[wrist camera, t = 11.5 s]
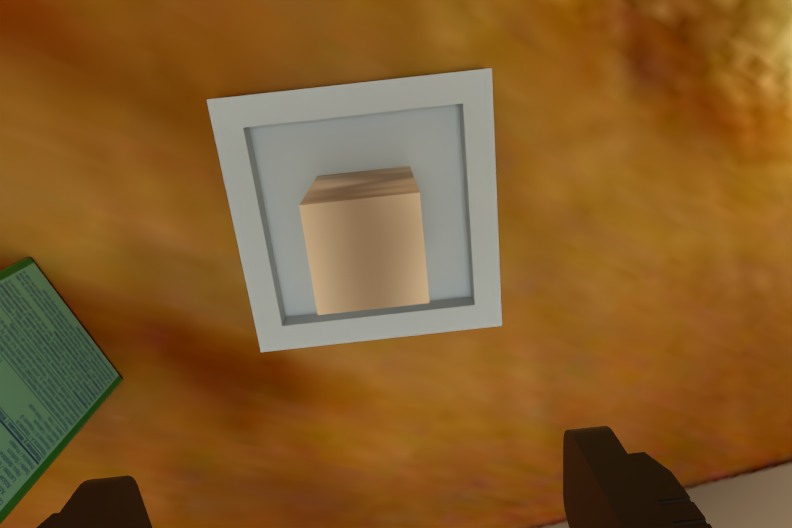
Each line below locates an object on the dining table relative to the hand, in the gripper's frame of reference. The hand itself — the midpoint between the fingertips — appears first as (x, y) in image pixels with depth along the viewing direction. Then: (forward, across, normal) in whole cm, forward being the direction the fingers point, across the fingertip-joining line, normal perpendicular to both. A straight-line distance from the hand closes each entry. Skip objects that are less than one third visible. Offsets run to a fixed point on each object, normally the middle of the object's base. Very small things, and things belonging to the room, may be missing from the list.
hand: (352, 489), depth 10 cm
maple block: (+20, 0, 0) cm, 20 cm away
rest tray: (+21, 0, 0) cm, 21 cm away
